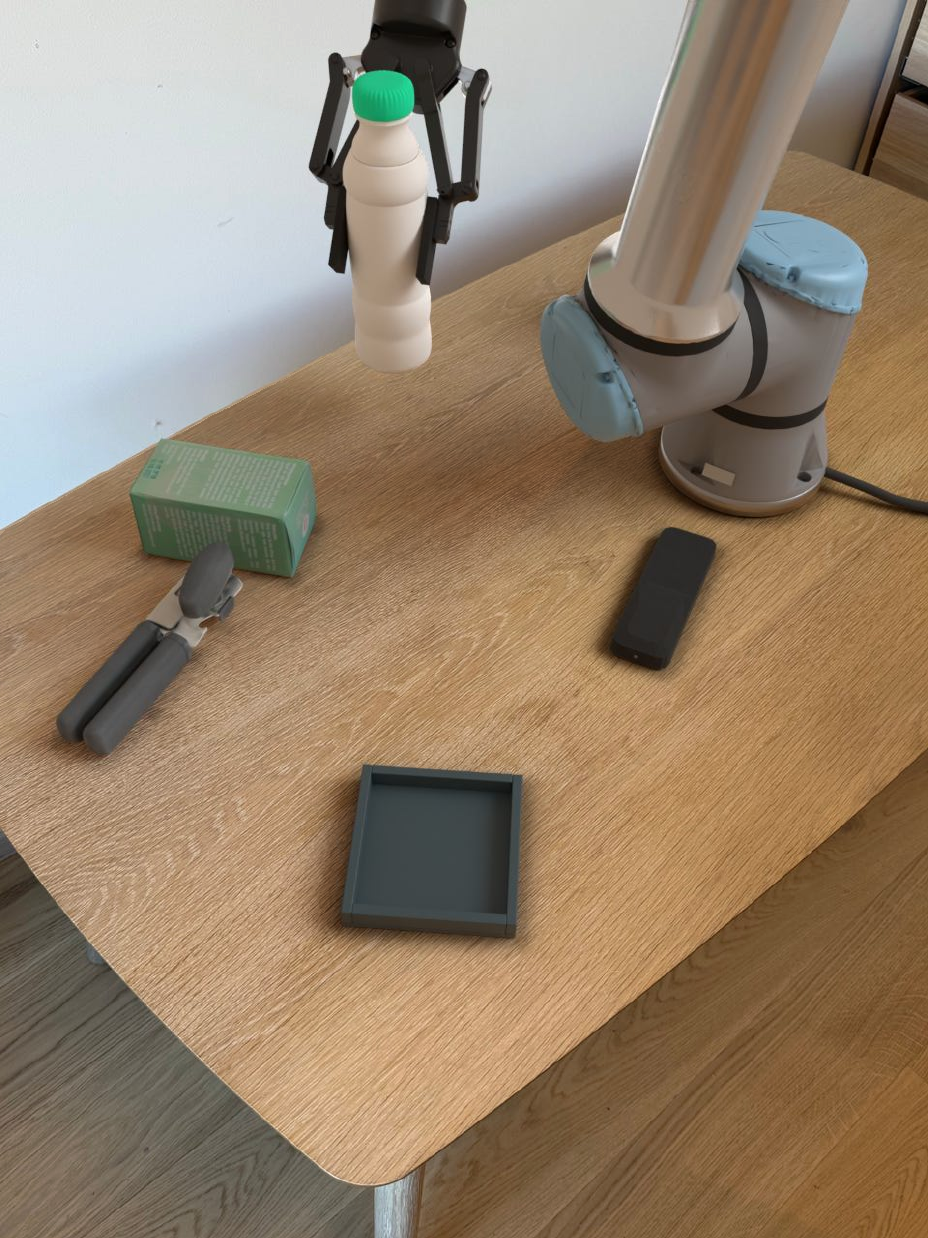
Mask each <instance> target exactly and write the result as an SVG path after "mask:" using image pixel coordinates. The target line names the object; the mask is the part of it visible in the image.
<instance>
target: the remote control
mask: <svg viewBox="0 0 928 1238" xmlns="http://www.w3.org/2000/svg"><path fill="white" fill-rule="evenodd" d="M716 552H717V543H716V542H715V541H714V540H713V539H712V538H709V537H707V536H703V535H701V534H698V533H694V532H691V531H688V530H685V529H681V528H678V527H674V526H668V527H665V528H664V529H662V530H661V533H660V534H659V537H658V539H657V542H656V543H655V545H654V548H653V550H652V552H651V554H650V556H649V558H648V560H647V562H646V564H645V566H644V569H643V571H642V573H641V575H640V577H639V579H638V581H637V583H636V584H635V585H636V586H635V587H634V589H633V592H632V593H631V596H630V598H629V600H628V602H627V604H626V606H625V608H624V610H623V612H622V615H621V616H620V619H619V621H618V622H617V624H616V626H615V629H614V631H613V633H612V636H611V640H610V643H609V650H610V651H611V653H612V654H613V655H615V656H616V657H620V658H622V659H625V660H627V661H630V662H634V663H636V664H639V665H641V666H644V667H647V668H650V669H652V670H659V671H661V670H664V669H666V668H667V667H668V666H669V665H670V663H671V660H672V658H673V656H674V653H675V651H676V649H677V647H678V644H679V642H680V639H681V637H682V635H683V632H684V630H685V628H686V625H687V623H688V620H689V618H690V616H691V614H692V611H693V609H694V607H695V604H696V602H697V599H698V597H699V595H700V593H701V590H702V587H703V585H704V583H705V581H706V578H707V576H708V574H709V571H710V569H711V567H712V564H713V561H714V560H715V557H716Z"/></svg>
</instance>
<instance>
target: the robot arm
mask: <svg viewBox="0 0 928 1238" xmlns="http://www.w3.org/2000/svg"><path fill="white" fill-rule="evenodd" d="M850 1H851V0H687V3H686V5H685V9H684V13H683V16H682V19H681V23H680V26H679V30H678V33H677V38H676V40H675V44H674V46H673V50H672V54H671V56H670V60H669V64H668V67H667V71H666V74H665V77H664V81H663V84H662V88H661V91H660V94H659V98H658V101H657V104H656V108H655V112H654V115H653V117H652V122H651V125H650V128H649V132H648V135H647V139H646V143H645V147H644V149H643V152H642V156H641V159H640V162H639V166H638V170H637V173H636V176H635V180H634V182H633V187H632V190H631V193H630V196H629V200H628V203H627V207H626V210H625V214H624V217H623V221H622V224H621V227H620V230H618V231H616V232H614V233H612V234H611V235H609V236H607V237H606V238H605V239H603V240H602V241H601V242H600V243H599V244H598V245H597V246H596V247H595V250H594V251H593V253H592V255H591V257H590V259H589V262H588V267H587V270H586V273H585V277H584V281H583V284H582V286H581V289H580V290H579V291H578V292H577V293H575V294H571V295H570V294H568V293H566V294H563V295H560V296H559V298H558V299H555V300H553V301H551V302H550V303H548V305H546V307H545V308H544V310H543V312H542V315H541V318H540V326H539V333H540V334H539V339H540V341H539V342H540V350H541V354H542V359H543V363H544V367H545V370H546V373H547V376H548V380H549V382H550V385H551V387H552V390H553V392H554V394H555V397H556V398H557V401H558V403H559V404H560V406H561V408H562V410H563V411H564V413H565V414H566V416H567V417H568V419H569V420H570V421H571V423H572V424H573V425H574V427H575V428H576V429H577V430H578V431H579V432H581V433H582V434H583V435H585V436H586V437H587V438H589V439H592V440H594V441H598V442H600V443H611V442H614V441H618V440H622V439H625V438H629V437H632V438H638V437H640V436H642V435H643V434H645V433H648V432H650V431H654V430H657V429H660V428H662V431H661V435H660V440H659V446H658V459H659V463H660V467H661V469H662V472H663V474H664V475H665V476H666V478H667V479H668V480H669V482H670V483H671V485H672V486H674V487H675V488H676V489H677V491H679V492H680V493H682V494H683V495H684V496H686V497H687V498H688V499H690V500H692V501H693V502H695V503H697V504H699V505H701V506H704V507H706V508H708V509H711V510H714V511H716V512H720V513H723V514H728V515H731V516H732V515H733V516H737V517H738V516H740V517H748V518H763V517H772V516H773V517H774V516H778V515H783V514H786V513H789V512H792V511H795V510H796V509H799V508H801V507H802V506H803V505H805V504H807V503H808V502H809V501H810V500H811V499H813V498H814V496H815V495H816V494H817V493H818V491H819V490H820V488H821V486H822V483H823V480H824V478H826V479H828V480H831V481H834V482H837V483H839V484H842V485H844V486H846V487H848V488H849V487H850V488H851V489H854V490H857V491H860V492H862V493H865V494H867V495H869V496H872V497H873V498H876V499H878V500H880V501H882V502H885V503H887V504H890V505H892V506H895V507H898V508H903V509H906V510H911V511H916V512H919V513H920V512H921V513H926V514H927V513H928V501H923V500H917V499H912V498H908V497H904V496H902V495H899V494H895V493H893V492H890V491H887V490H886V489H883V488H881V487H879V486H876V485H874V484H872V483H869V482H867V481H865V480H862V479H861V478H857V477H855V476H852V475H849V474H847V473H844V472H841V471H839V470H836V469H834V468H831V467H829V466H828V464H829V450H828V435H827V421H826V408H827V407H826V406H827V404H828V400H829V397H830V394H831V392H832V388H833V386H834V383H835V380H836V378H837V374H838V372H839V368H840V365H841V363H842V360H843V358H844V354H845V351H846V348H847V346H848V343H849V339H850V337H851V333H852V331H853V328H854V326H855V322H856V319H857V316H858V314H859V312H861V310H862V306H863V295H864V293H865V287H866V284H867V282H868V281H867V280H868V276H869V264H868V260H867V258H866V256H865V253H864V252H863V250H862V249H861V247H859V245H858V244H857V243H856V242H855V241H854V240H853V239H852V238H851V237H849V236H848V235H847V234H845V233H844V232H842V231H841V230H839V229H837V228H836V227H835V226H832V225H830V224H828V223H826V222H823V221H821V220H818V219H816V218H812V217H810V216H806V215H803V214H799V213H796V212H790V211H784V210H774V209H773V210H771V209H769V210H768V209H767V210H766V209H763V206H764V204H765V202H766V200H767V198H768V195H769V193H770V190H771V188H772V186H773V183H774V181H775V178H776V176H777V175H778V172H779V169H780V166H781V164H782V163H783V159H784V157H785V154H786V152H787V150H788V148H789V146H790V143H791V141H792V139H793V136H794V133H795V131H796V129H797V126H798V124H799V121H800V119H801V117H802V115H803V113H804V109H805V107H806V105H807V103H808V100H809V98H810V95H811V93H812V91H813V89H814V86H815V84H816V81H817V80H818V77H819V74H820V72H821V71H822V68H823V65H824V63H825V60H826V58H827V55H828V53H829V51H830V50H831V49H830V48H831V46H832V44H833V42H834V39H835V37H836V35H837V32H838V29H839V28H840V25H841V23H842V20H843V18H844V16H845V14H846V10H847V8H848V6H849V3H850ZM467 10H468V8H467V3H466V0H374V4H373V11H372V18H371V25H370V32H369V38H368V41H367V43H366V45H365V46H364V48H363V49H362V51H361V54H357V55H350V56H342V54H340V53H339V52H331V53H330V54H329V56H328V58H327V63H328V64H327V65H328V78H329V79H328V80H329V83H328V87H327V90H326V94H325V99H324V103H323V106H322V110H321V111H322V112H321V114H320V118H319V123H318V126H317V131H316V135H315V138H314V142H313V146H312V150H311V154H310V158H309V162H308V170H309V172H311V174H312V175H313V177H314V178H315V179H316V180H317V182H318V183H320V184H324V185H325V186H327V192H326V199H325V207H324V214H323V222H324V225H325V226H326V227H327V229H329V230H331V231H332V234H331V235H332V236H331V241H330V247H329V248H330V249H329V255H328V261H327V266H329V267H330V269H331V270H333V271H334V272H335V273H336V274H341V275H345V274H346V268H347V262H348V257H349V250H348V237H347V220H346V193H347V190H346V188H345V185H344V182H343V166H344V162H345V160H346V157H347V155H348V152H349V150H350V148H351V146H352V141H353V138H354V136H355V134H356V133H357V131H358V129H359V126H360V122H359V120H357V119H355V122H354V123H353V126H352V128H351V130H350V131H349V133H348V135H347V137H346V139H345V142H344V143H343V145H342V147H341V149H340V151H339V153H338V154H337V152H338V148H339V144H340V140H341V137H342V133H343V128H344V124H345V120H346V116H347V112H348V109H349V104H350V99H351V94H352V86H353V84H354V81H355V80H356V79H357V78H358V77H359V76H360V75H361V74H362V73H364V72H365V73H367V72H371V71H379V70H381V71H383V70H386V71H394V72H398V73H401V74H402V75H405V76H406V77H408V79H410V81H411V83H412V85H413V89H414V108H413V110H412V111H413V114H416V115H423V118H424V123H425V128H426V134H427V139H428V145H429V151H430V156H431V162H432V167H433V172H434V178H435V183H436V192H437V194H438V196H429V195H428V199H427V205H426V212H425V218H424V224H423V231H422V237H421V244H420V250H419V256H418V263H417V269H416V275H415V277H416V278H417V279H418V281H419V282H420V283H421V284H422V285H429V286H431V280H432V276H433V275H432V274H433V269H434V262H435V256H436V250H437V245H445V246H446V245H447V243H448V242H449V240H450V237H451V231H452V224H453V219H454V214H455V213H454V212H455V209H456V207H457V206H458V205H459V204H461V203H465V202H470V203H473V202H476V201H477V200H478V198H479V196H480V184H481V183H480V180H481V166H482V163H481V162H482V148H483V147H482V146H483V142H482V141H483V128H484V127H483V126H484V112H485V108H486V105H487V103H488V101H489V98H490V96H491V93H492V91H493V85H492V82H491V77H490V75H489V72H488V71H487V69H485V68H478V69H476V70H475V69H474V70H473V69H471V68H468V67H466V66H463V64H462V61H461V47H462V41H463V35H464V29H465V23H466V17H467ZM365 73H364V74H365ZM459 83H460V84H461V88H460V89H461V93H462V96H463V98H464V99H465V101H464V115H463V130H462V131H463V132H462V133H463V134H462V151H461V168H460V180H459V181H457V182H455V181H454V176H453V171H452V165H451V161H450V160H451V159H450V154H449V148H448V143H447V138H446V132H445V126H444V118H443V117H444V116H443V112H442V106H441V102H442V101H443V100H444V99H445V98H446V97H447V96H448V95H449V94H450V92H452V90H454V88H455V87H456V86H457V85H458V84H459ZM336 155H337V157H336ZM762 209H763V210H762Z"/></svg>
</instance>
